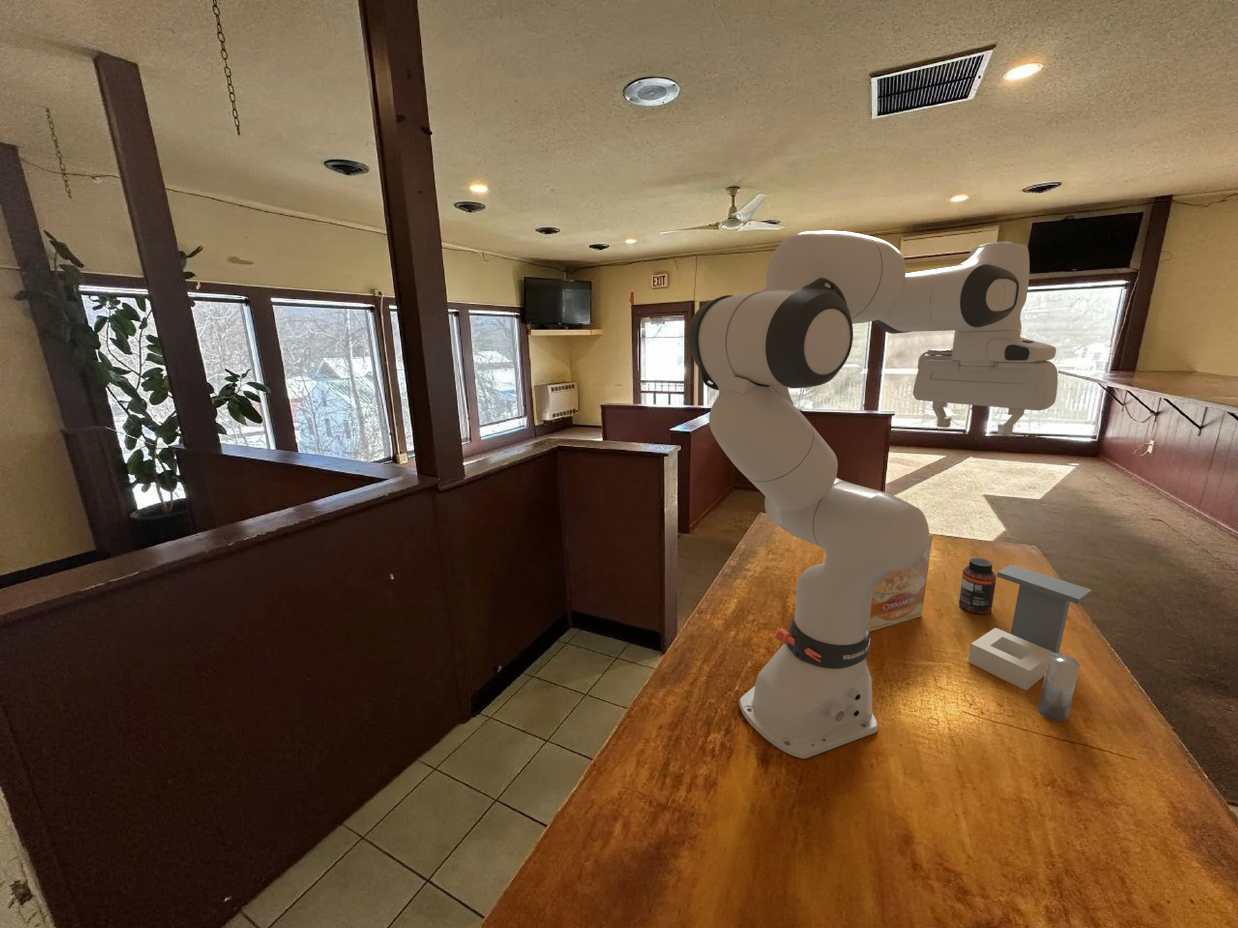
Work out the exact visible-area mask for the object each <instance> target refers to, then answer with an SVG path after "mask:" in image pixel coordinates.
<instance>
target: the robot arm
mask: <svg viewBox="0 0 1238 928" xmlns="http://www.w3.org/2000/svg"><path fill="white" fill-rule="evenodd" d="M1029 281H1030V254H1029V248H1028V247H1027V246H1026V245H1024V244H1022V243H1020V242H1015V241H992V242H991V241H990V242H986V243H983V244H980V245H977V246H975V247H973V248H972V249H971V250H970V252H969V255H968V256H967V260H965V261H963V262H961V263H958V265H954V266H948V267H941V268H936V269H935V268H934V269H928V270H927V269H926V270H921V271H908V272H907V269H906V263H905V259H904V256H903V254H902V252H901V251H900V249H897V248H896V247H895V246H894V245H893V244H891V243H890V242H887V241H885V240H883V239H881V238H878V237H876V236H875V237H874V236H871V235H866V234H861V233H857V232H851V231H844V230H843V231H842V230H830V229H829V230H827V229H825V230H823V229H822V230H808V231H807V230H806V231H802V232H801V231H800V232H798V233H795V234H793V235H790V236H788V237H787V238H786V239H785V240H784V241H782V242H781V243H780V244H779V245H778V246H777V247H776V248H775V250H774V252H773V253H772V255H771V257H770V259H769V261H768V265H767V268H766V273H765V286H764V288H763V289H762V290H759V291H751V292H745V293H739V294H736V295H733V294H732V295H731V294H729V295H722V296H720V297H716V298H714V299H712V300H710V301H708V302H706V303H705V304H703V305H702V306H701V307H700V308H699V309H697V311H696V312H695V313H694V315H693V316H692V318H691V320H690V323H689V327H688V331H687V341H688V342H687V343H688V348H689V352H690V354H691V357H692V359H693V361H694V363H695V365H696V366H697V368H698V369H699V373H700V377H701V380H702V382H703V384H704V385H705V386H707V387H708V388H710V389H711V390H712V389H713V390H716V391H718V395H717V397H716V399H715V400H714V402H713V404H712V406H711V408H710V412H709V417H708V419H709V420H708V423H709V425H708V426H709V428H710V432H711V434H712V435H713V437H714V439H715V441H716V442H717V444H718V445H719V447H720V448H721V449H722V451H723V452H724V453H725V455H726V457H727V458H729V460H730V461H731V463H732V465H734V466H735V467H736V469H738V470H739V472H741V474H743V475H744V477H746V479H748V481H750V483H751V484H753V485H754V486H755V488H756V489H758V490H759V491H760V492H761V493H762V494H763V496H765V497H764V509H765V513H766V515H767V517H768V518H769V520H770V521H771V522H773V523H774V524H775V525H776V526H778V527H779V528H781V529H782V530H783V531H785V532H786V533H788V534H790V535H791V536H793V537H796V538H799V539H800V540H803V541H805V542H808V543H810V544H812V545H815V546H817V547H819V548H822V549H823V550H824V552H825V561H824V563H818V564H815V565H812V566H809V567H808V568H806V569H805V570H804V571H803V572H802V573H801V574H800V575H799V577H798V579H797V580H796V589H795V590H796V591H795V607H794V608H795V609H794V615H793V617H792V619H791V621H790V624H789V628H788V631H787V630H786V629H784V628H782V627H779V628H778V629H777V630H776V632H775V639H776V640H778V641H779V642H782V643H783V644H782V645H781V646H780V648H778V650H777V651H776V652H775V653H774V655H772V657H771V658H770V659H769V661H768V662H767V663H766V664H765V666H764V667H762V669H761V670H760V671H759V673H758V674H757V677H756V680H755V684H754V686H752V687H751V688H750V689H749V690H748V691H747V692H745V693H744V694H743V695H742V696H741V697H740V698H739V702H738V705H739V709H740V711H741V713H742V715H743V716H744V718H745V719H746V721H747V722H748V723H749V724H750V725H751V727H752V728H753V729H754V730H756V732H757V733H758V734H760V735H761V736H762V737H763V738H764V739H765V740H766V741H768V742H769V743H770V744H772V745H773V746H774V747H776V748H778V749H779V750H780V751H782V752H784V753H786V754H788V755H791V756H793V757H796V758H799V759H803V760H804V759H808V758H810V757H811V758H812V757H814V756H816V755H819V754H823V753H824V752H827V751H830V750H832V749H835V748H837V747H840V746H844V745H846V744H849V743H851V742H855V741H856V740H859V739H862V738H864V737H867V736H870V735H873V734H875V733H877V732H878V730H879V729H878V728H879V726H878V721H877V719H876V717H875V716H874V714H873V680H872V679H873V678H872V676H871V673H870V669H869V666H868V662H867V657H868V656H869V648H870V646H871V644H870V643H871V638H870V636H871V634H870V632H869V629H868V618H869V611H870V605H871V600H872V595H873V592H874V590H875V588H876V587H877V585H878V584H879V582H880V581H881V580H882V579H883V578H885V577H886V576H888V575H890V574H892V573H895V572H898V571H902V570H904V569H907V568H909V567H910V566H912V565H913V564H915V563H916V562H917V561H918V560H919V559H920V558H921V556H922V555H923V554H924V552H925V550H926V548H927V545H928V541H929V533H930V528H929V527H930V526H929V523H928V521H927V520H928V519H927V517H926V516H925V514H924V513H923V510H921V509H920V508H919V507H917V506H915V505H913V504H911V503H909V502H907V501H906V500H904V499H901V498H899V497H898V496H895V495H894V494H892V493H889V492H884V491H881V490H877V489H874V488H871V487H866V486H863V485H859V484H855V483H851V482H849V481H845V480H842V479H840V478H838V477H837V474H838V465H839V464H838V458H837V456H836V454H835V452H834V451H833V449H832V448H831V447H830V445H829V444H828V443H827V442H826V441H825V439H824V437H822V435H820V433H819V432H818V430H816V428H815V427H814V426H813V425H812V423H810V421H809V419H807V418H806V417H805V415H804V414H803V413H802V412H801V411H800V410H799V409H798V408H797V407H796V405H794V402H793V400H792V397H791V395H790V392H789V389H806V388H807V389H808V388H813V387H819V386H822V385H826V384H827V383H829V382H830V381H832V380H833V379H834V378H835V377H836V376H837V375H838V373H840V370H842V368H843V366H844V365H845V364H846V363H847V360H848V358H849V356H850V354H851V351H852V348H853V347H852V346H853V340H854V326H853V325H854V324H855V325H857V324H864V323H865V324H866V323H869V322H873V323H874V324H875V325H876V326H878V328H880V329H881V330H882V331H884V332H886V333H889V334H893V335H896V334H905V333H912V332H915V333H917V332H945V331H948V332H949V331H954V334H953V342H952V343H953V344H952V348H951V349H950V348H945V349H944V348H943V349H936V348H934V349H933V348H931V349H928V350H927V351H925V352H923V353H922V354H921V355H920V356H919V358H918V360H917V361H918V362H917V374H916V375H915V381H914V385H913V390H912V395H913V397H914V399H915V400H916V401H922V402H932V405H931V408H932V411H933V412H934V414H935V416H936V418H937V421H936V427H938V428H944V429H945V428H946V429H947V428H950V427H951V424H952V423H951V422H952V417H951V416H947V414H946V411H945V409H944V408H946V407H947V406H948V405H947V404H955V405H956V404H957V405H969V406H980V407H981V406H982V407H992V408H993V407H994V408H1004V409H1008V410H1007V415H1008V416H1010V417H1009V418H1008V419H1007V421H1006V422H1002V423H998V424H997V429H998V430H996V434H997V435H1000V436H1007V437H1009V436H1011V435H1012V434H1013V429H1014V425H1015V424H1016V423H1017V422H1018V421H1019V420H1020V419H1021V418H1022V417H1023V416H1024V415H1025V411H1026V410H1028V411H1044V410H1048V409H1049V408H1051V407H1052V406H1053V405H1054V404H1055V403H1056V401H1057V400H1056V399H1057V396H1058V395H1057V394H1058V383H1059V380H1058V379H1059V377H1058V376H1059V375H1058V368H1057V367H1056V365H1055V364H1054V363H1053V362H1052V361H1050V360H1053V359H1054V358H1055V357H1056V354H1057V348H1056V347H1055V346H1054V345H1051V344H1047V343H1044V342H1043V343H1042V342H1040V341H1035V340H1032V339H1029V338H1028V339H1027V338H1025V337H1022V336H1021V334H1022V322H1021V315H1022V314H1021V313H1022V310H1023V308H1024V306H1025V304H1026V302H1027V297H1028V291H1029ZM710 382H711V383H710Z"/></svg>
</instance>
